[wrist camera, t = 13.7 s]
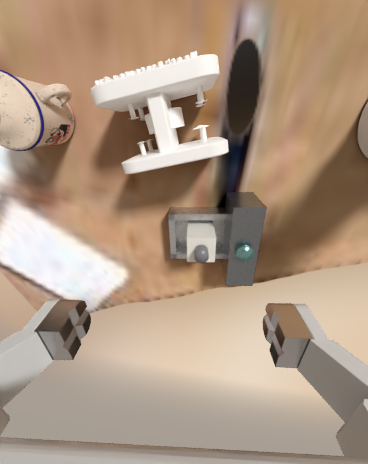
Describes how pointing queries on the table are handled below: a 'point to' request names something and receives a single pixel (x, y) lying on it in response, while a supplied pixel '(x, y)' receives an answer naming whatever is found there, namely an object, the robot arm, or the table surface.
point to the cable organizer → (163, 108)
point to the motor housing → (225, 234)
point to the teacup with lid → (33, 113)
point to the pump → (201, 241)
